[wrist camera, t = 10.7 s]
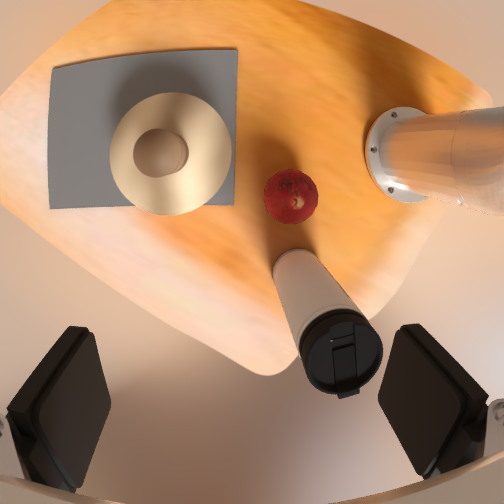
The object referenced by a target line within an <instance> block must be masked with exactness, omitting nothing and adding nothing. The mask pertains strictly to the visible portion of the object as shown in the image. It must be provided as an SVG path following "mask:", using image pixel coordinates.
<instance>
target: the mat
mask: <svg viewBox="0 0 504 504" xmlns="http://www.w3.org/2000/svg"><path fill="white" fill-rule="evenodd" d="M237 67H238V50H189V51H171V52H157V53H147V54H137V55H129V56H121V57H114V58H107V59H101V60H95V61H90V62H84V63H79V64H74V65H70V66H65V67H61V68H56V69H52V76H51V86H50V98H49V114H48V188H49V204H50V209H64V208H86V207H114V206H135V205H134V204H132V203H131V202H130V201H129V200H128V199H127V198H126V197H125V196H124V195H123V194H122V192H121V191H120V189H119V188H118V186H117V184H116V182H115V180H114V178H113V175H112V172H111V166H110V146H111V141H112V138H113V135H114V132H115V130H116V128H117V126H118V124H119V123H120V121H121V119H122V118H123V117H124V116H125V114H126V113H127V112H128V111H129V110H130V109H131V108H132V107H134V106H135V105H136V104H138V103H139V102H141V101H143V100H144V99H146V98H149V97H151V96H154V95H157V94H161V93H169V92H176V93H184V94H189V95H192V96H195V97H197V98H199V99H201V100H203V101H204V102H206V103H208V104H209V105H210V106H211V107H212V108H214V109H215V111H216V112H217V113H218V114H219V115H220V117H221V118H222V120H223V121H224V123H225V125H226V127H227V129H228V133H229V136H230V141H231V151H232V154H231V163H230V167H229V171H228V173H227V176H226V178H225V180H224V182H223V184H222V186H221V187H220V188H219V190H218V191H217V192H216V194H215V195H214V196H213V197H212V198H211V199H210V200H208V201H207V202H206V203H205V204H203V205H234V177H235V132H236V97H237Z"/></svg>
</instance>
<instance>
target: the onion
mask: <svg viewBox="0 0 504 504" xmlns="http://www.w3.org/2000/svg"><path fill="white" fill-rule="evenodd" d="M264 202H265V205H266V208H267V210H268V212H269V213H270V214H271V215H272V217H273V218H274V219H276V220H278V221H280V222H282V223H284V224H297V223H300V222H302V221H305V220H306V219H307V218H308V217H310V216H311V215H312V214H313V212H314V210H315V208H316V207H317V204H318V192H317V188H316V185H315V184H314V182H313V181H312V180H311V178H310V177H309V176H307V175H306V174H304V173H302V172H301V171H297V170H291V169H288V170H284V171H281V172H278V173H276V174H275V175H274V176H273V177H272V178H271V179H270V180H269V181H268V183H267V185H266V188H265V190H264Z"/></svg>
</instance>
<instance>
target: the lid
mask: <svg viewBox="0 0 504 504" xmlns="http://www.w3.org/2000/svg"><path fill="white" fill-rule="evenodd" d="M231 154H232V151H231V141H230V136H229V133H228V129H227V127H226V125H225V123H224V121H223V120H222V118H221V117H220V115H219V114H218V113H217V112H216V111H215V109H214V108H212V107H211V106H210V105H209V104H208V103H206V102H204V101H203V100H201V99H199V98H197V97H195V96H192V95H189V94H184V93H176V92H169V93H161V94H157V95H154V96H151V97H149V98H146V99H144V100H143V101H141V102H139V103H138V104H136V105H135V106H134V107H132V108H131V109H130V110H129V111H128V112H127V113H126V114H125V116H124V117H123V118H122V119H121V121H120V123H119V124H118V126H117V128H116V130H115V132H114V135H113V138H112V141H111V146H110V166H111V172H112V175H113V178H114V180H115V182H116V184H117V186H118V188H119V189H120V191H121V192H122V194H123V195H124V196H125V197H126V198H127V199H128V200H129V201H130V202H131V203H132V204H134V205H135V206H137V207H138V208H140V209H142V210H144V211H147V212H150V213H153V214H158V215H168V216H169V215H179V214H184V213H187V212H190V211H192V210H194V209H196V208H198V207H200V206H202V205H203V204H205V203H206V202H207V201H208V200H210V199H211V198H212V197H213V196H214V195H215V194H216V192H217V191H218V190H219V188H220V187H221V186H222V184H223V182H224V180H225V178H226V176H227V173H228V171H229V167H230V163H231Z"/></svg>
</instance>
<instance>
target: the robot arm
mask: <svg viewBox="0 0 504 504" xmlns="http://www.w3.org/2000/svg"><path fill="white" fill-rule="evenodd" d="M391 114H392V116H391ZM371 148H372V152H371ZM365 157H366V164H367V168H368V171H369V173H370V176H371V178H372V180H373V181H374V183H375V184H376V186H377V187H378V188H379V189H380V190H381V191H382V192H383V193H384V194H385V195H387V196H388V197H390V198H392V199H394V200H396V201H399V202H403V203H417V202H421V201H423V200H426V199H427V198H429V197H431V198H435V199H439V200H442V201H446V202H449V203H453V204H456V205H460V206H463V207H467V208H470V209H473V210H476V211H479V212H482V213H486V214H489V215H495V216H502V215H504V107H496V108H486V109H476V110H466V111H456V112H448V113H439V114H432V115H427V114H426V113H424V112H422V111H421V110H418V109H415V108H412V107H396V108H393V109H390V110H388V111H386V112H384V113H382V114H381V115H380V116H379V117H378V118H377V119H376V120H375V121H374V123H373V124H372V126H371V128H370V130H369V132H368V135H367V139H366V145H365ZM388 188H389V191H388ZM488 397H489V395H488V394H487V393H486V392H485V391H484V390H483V389H482V388H481V387H480V385H479V384H478V383H477V382H476V381H475V380H474V379H473V378H472V377H471V376H470V375H469V374H468V373H467V372H466V371H465V369H464V368H463V367H462V366H461V365H460V364H459V363H458V362H457V361H456V360H455V359H454V358H453V357H452V356H451V355H450V354H449V353H448V352H447V351H446V350H445V349H444V348H443V347H442V346H441V345H440V344H439V343H438V342H437V341H436V340H435V339H434V338H433V337H432V336H431V335H430V334H429V333H428V332H427V331H426V330H425V329H424V328H423V327H422V326H421V325H420V324H408V325H403V326H401V328H400V330H397V332H396V333H395V337H394V341H393V345H392V348H391V352H390V356H389V360H388V363H387V367H386V370H385V374H384V377H383V380H382V384H381V387H380V390H379V393H378V402H379V404H380V406H381V408H382V410H383V412H384V414H385V415H386V417H387V419H388V420H389V423H390V424H391V426H392V428H393V430H394V432H395V434H396V435H397V437H398V439H399V441H400V443H401V445H402V447H403V448H404V450H405V452H406V454H407V456H408V458H409V460H410V461H411V463H412V465H413V467H414V469H415V471H416V473H417V474H418V475H420V476H421V475H422V477H423V479H424V480H423V481H420V482H417V483H414V484H411V485H408V486H404V487H401V488H397V489H394V490H390V491H386V492H382V493H378V494H375V495H370V496H366V497H361V498H357V499H352V500H347V501H341V502H337V503H331V504H504V399H497V400H494V401H492V402H491V404H490V405H489V406H487V405H486V400H487V398H488ZM110 408H111V399H110V395H109V392H108V388H107V384H106V381H105V377H104V374H103V370H102V366H101V362H100V358H99V354H98V349H97V345H96V341H95V336H94V334H93V333H92V332H89V330H88V328H86V327H78V326H69V327H68V328H67V329H66V330H65V332H64V333H63V334H62V335H61V337H60V338H59V339H58V340H57V341H56V343H55V344H54V345H53V346H52V348H51V349H50V350H49V352H48V353H47V354H46V355H45V357H44V358H43V359H42V361H41V362H40V363H39V365H38V366H37V367H36V368H35V370H34V371H33V372H32V374H31V375H30V376H29V378H28V379H27V380H26V382H25V383H24V385H23V386H22V387H21V389H20V390H19V391H18V393H17V394H16V395H15V397H14V398H13V400H12V401H11V403H10V404H9V405H8V407H7V410H8V414H7V415H6V417H4V416H3V415H2V414H0V504H123V503H118V502H112V501H107V500H102V499H97V498H92V497H88V496H83V495H79V494H75V491H76V488H80V487H81V486H82V484H83V482H84V479H85V476H86V473H87V470H88V467H89V464H90V462H91V459H92V456H93V453H94V451H95V448H96V445H97V442H98V440H99V437H100V434H101V432H102V429H103V427H104V424H105V421H106V419H107V416H108V414H109V411H110Z"/></svg>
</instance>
